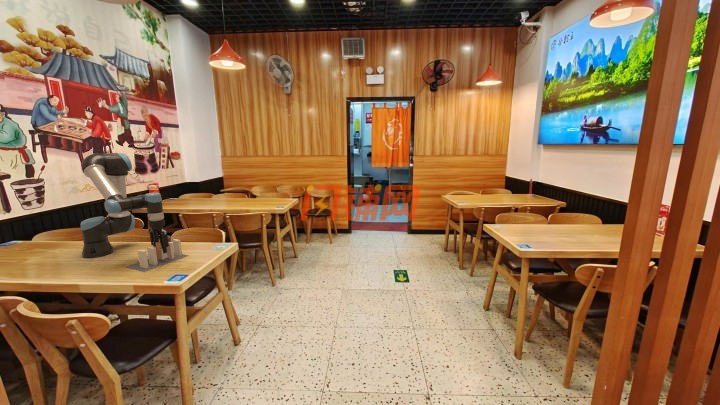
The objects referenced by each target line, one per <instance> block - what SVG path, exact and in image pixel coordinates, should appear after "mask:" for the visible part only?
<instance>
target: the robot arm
mask: <svg viewBox="0 0 720 405" xmlns="http://www.w3.org/2000/svg"><path fill="white" fill-rule="evenodd" d="M80 164H81V165H80V167H81V171H82V173H83V175H84V176H85V177H87V178H89V179H90V181H91V182H92V184H93V185H94V186H95V187H96V189H97V191H98V192H99V193H100V194H101V195H102V197H103V198H104V200H105V201H104V203H103V204H104V209H105V211H106V212H107V213H108V214H107V217H104V216H95V217H89V218H87V219H84V220H82V221H81V222H80V232H81V237H82V241H83V247H82V252H81V255H82V258H83V259H92V258H99V257H103V256H107V255H110V254H112V253H114V252H115V251H114V247H113V246H112V245H113V244H111V242H110V240H109V237H108V236H113V235H117V234H122V233H127V232H128V233H129V232H130V231H132V230H134V229H135V227H136V226H135V225H136V219H135V216H134V215H133V214H132V213H131V212H130V211H136V210H142V209H146V213H147V219H148V226H149V227H150V228H149V229H148V233H149V238H150V244H151V246H152V247H154V248H156V243H155V242H160V244H161V247H162V248H161V254H162V259H165V258H167V249H166V247H168V246H169V243H168V236H167V235H168V230H167V229H166V230H165V228H164V226H165V225H166V222H165V219H164V218H165V215H164V209H163V200H162V195H161V193H160V192H149V193H145V194H139V195H137V196H130V197H127V182H126V177H127V176H128V175H129V172H130V171H132V170H133V164H132V161H131V159H130V157H129V156H128V155H127V154H126V153H124V152H123V153H121V152H105V153H102V152H101V153H98V152H95V153H91V154H89V155H87V156H85V157H84V158H83V160H82V162H81V163H80ZM156 255H157V249H156ZM157 257H158V256H157Z"/></svg>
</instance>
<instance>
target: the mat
mask: <svg viewBox="0 0 720 405" xmlns="http://www.w3.org/2000/svg"><path fill="white" fill-rule="evenodd" d="M186 257H190V255H189V254H188V255H187V254H184V253H182V256H176V255H174V259H169V258H166V259H164V260H162V259H158V257H157V262H158V264H157V265H152V264H149V258H147V259H148V266H149V268H142V267H140V263H139V261H138V262H134V263H132V264H130V265H126V266H124V268H125V269H130V270H135V271H138V272H141V273H146V272H149V271H152V270H154V269H156V268H160V267H162V266H166V265H168V264H171V263H173V262H176V261H178V260H181V259H184V258H186Z"/></svg>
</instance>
